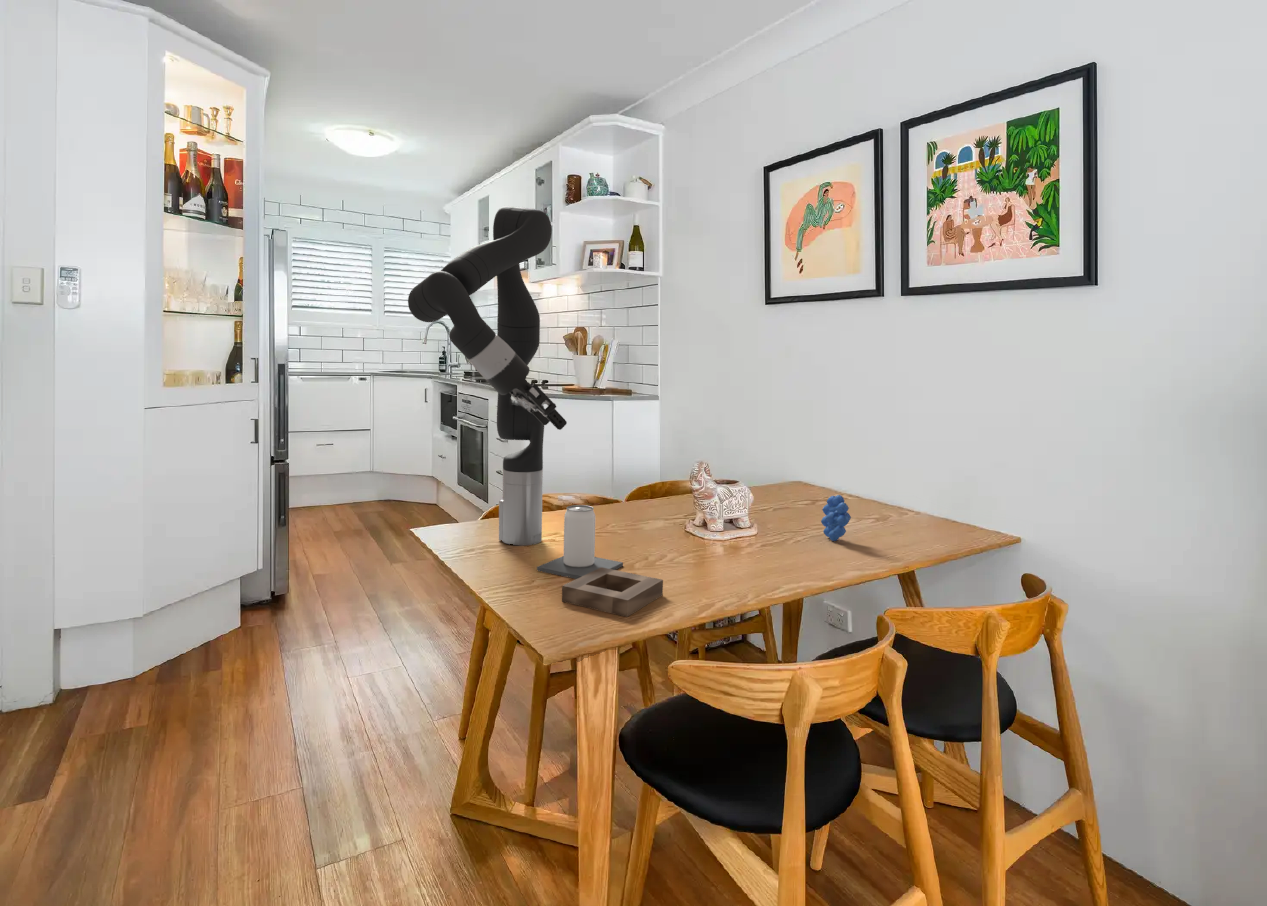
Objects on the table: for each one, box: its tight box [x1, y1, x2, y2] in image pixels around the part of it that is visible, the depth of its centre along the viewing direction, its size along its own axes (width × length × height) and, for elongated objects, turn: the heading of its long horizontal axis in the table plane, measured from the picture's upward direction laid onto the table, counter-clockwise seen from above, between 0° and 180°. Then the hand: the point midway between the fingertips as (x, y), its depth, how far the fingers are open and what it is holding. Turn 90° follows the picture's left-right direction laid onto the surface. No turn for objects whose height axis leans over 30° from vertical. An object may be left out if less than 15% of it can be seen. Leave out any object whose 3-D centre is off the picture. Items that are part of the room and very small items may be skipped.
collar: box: [561, 567, 664, 618], centre depth 134 cm, size 14×14×3 cm
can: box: [563, 504, 596, 568], centre depth 151 cm, size 6×6×12 cm
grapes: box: [820, 494, 852, 542], centre depth 181 cm, size 12×7×12 cm, turn 10°
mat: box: [536, 555, 624, 580], centre depth 152 cm, size 13×13×1 cm
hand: (555, 424), depth 142 cm, fingers open, 8 cm apart
